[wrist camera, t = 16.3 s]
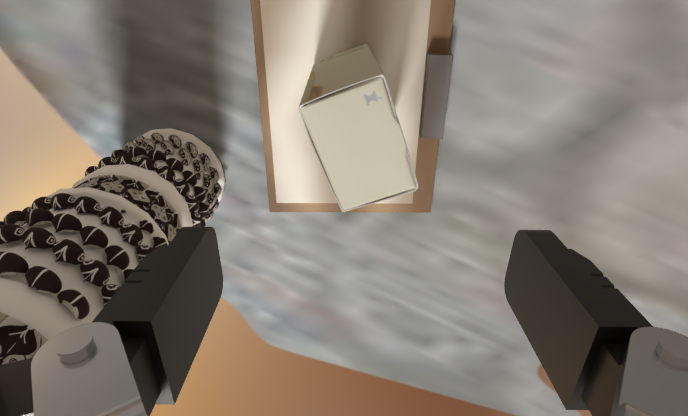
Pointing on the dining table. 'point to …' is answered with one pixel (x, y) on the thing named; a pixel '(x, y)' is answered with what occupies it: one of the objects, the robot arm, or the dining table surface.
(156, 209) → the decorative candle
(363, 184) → the skincare box
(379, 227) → the dining table surface
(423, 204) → the clipboard
